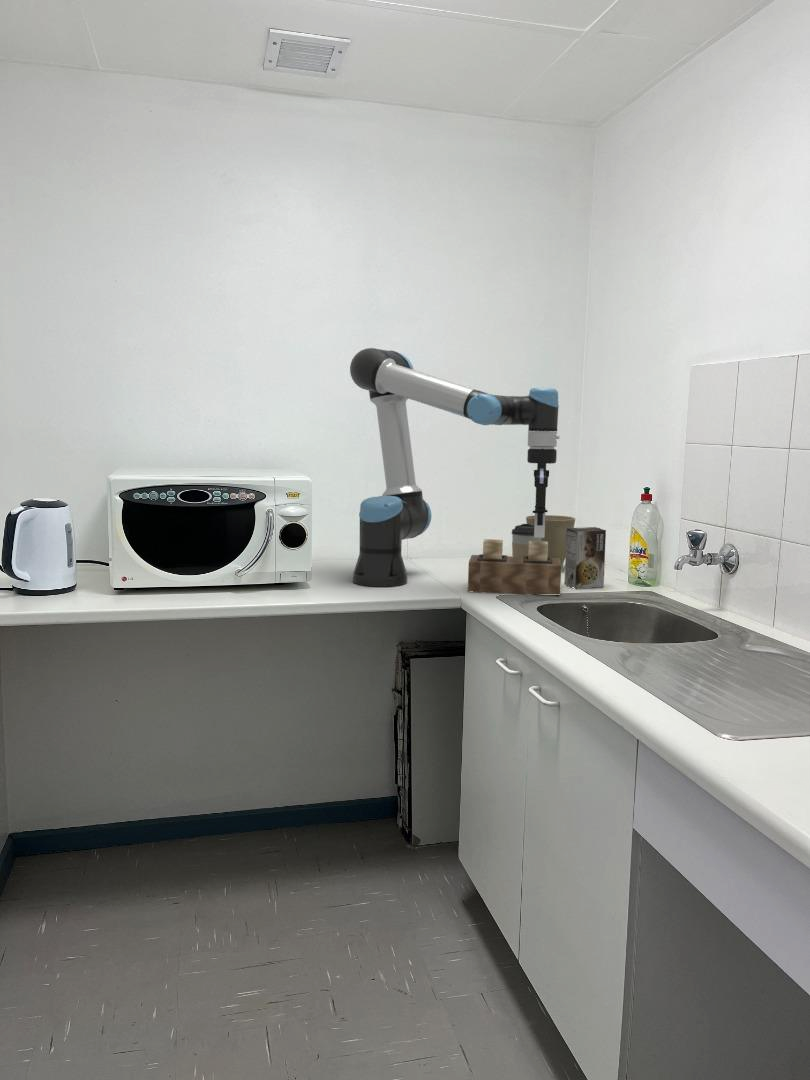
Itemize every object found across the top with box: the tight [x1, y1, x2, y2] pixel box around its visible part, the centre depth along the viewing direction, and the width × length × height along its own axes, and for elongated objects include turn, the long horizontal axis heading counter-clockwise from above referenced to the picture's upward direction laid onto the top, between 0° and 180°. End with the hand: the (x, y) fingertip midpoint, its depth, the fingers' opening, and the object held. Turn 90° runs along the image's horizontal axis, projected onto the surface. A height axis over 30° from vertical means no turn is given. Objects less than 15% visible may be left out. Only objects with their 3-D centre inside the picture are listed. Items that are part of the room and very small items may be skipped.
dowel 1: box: [482, 538, 504, 559], centre depth 222 cm, size 5×5×6 cm
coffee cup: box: [511, 523, 542, 557], centre depth 241 cm, size 9×9×15 cm
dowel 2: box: [528, 541, 548, 561], centre depth 220 cm, size 5×5×6 cm
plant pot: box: [525, 514, 576, 568], centre depth 254 cm, size 15×15×16 cm
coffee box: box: [563, 526, 607, 589], centre depth 227 cm, size 9×6×16 cm
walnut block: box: [467, 553, 562, 595], centre depth 222 cm, size 24×12×9 cm, turn 82°
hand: (539, 537), depth 219 cm, fingers closed
